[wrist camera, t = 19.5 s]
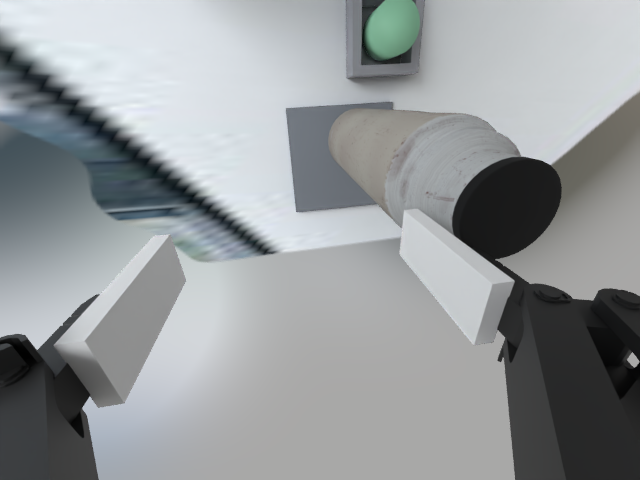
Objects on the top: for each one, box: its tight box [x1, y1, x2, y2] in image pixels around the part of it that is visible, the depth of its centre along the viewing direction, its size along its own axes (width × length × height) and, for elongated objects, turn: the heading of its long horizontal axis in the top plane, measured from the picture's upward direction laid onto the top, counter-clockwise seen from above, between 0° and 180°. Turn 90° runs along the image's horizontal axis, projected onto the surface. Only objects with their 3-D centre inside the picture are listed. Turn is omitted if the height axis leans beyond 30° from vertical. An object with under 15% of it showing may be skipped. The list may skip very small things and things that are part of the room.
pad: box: [286, 102, 392, 212], centre depth 38 cm, size 14×14×1 cm
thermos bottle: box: [328, 108, 562, 259], centre depth 24 cm, size 8×8×28 cm
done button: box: [362, 0, 420, 61], centre depth 29 cm, size 5×5×4 cm
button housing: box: [346, 0, 425, 78], centre depth 31 cm, size 8×8×3 cm
